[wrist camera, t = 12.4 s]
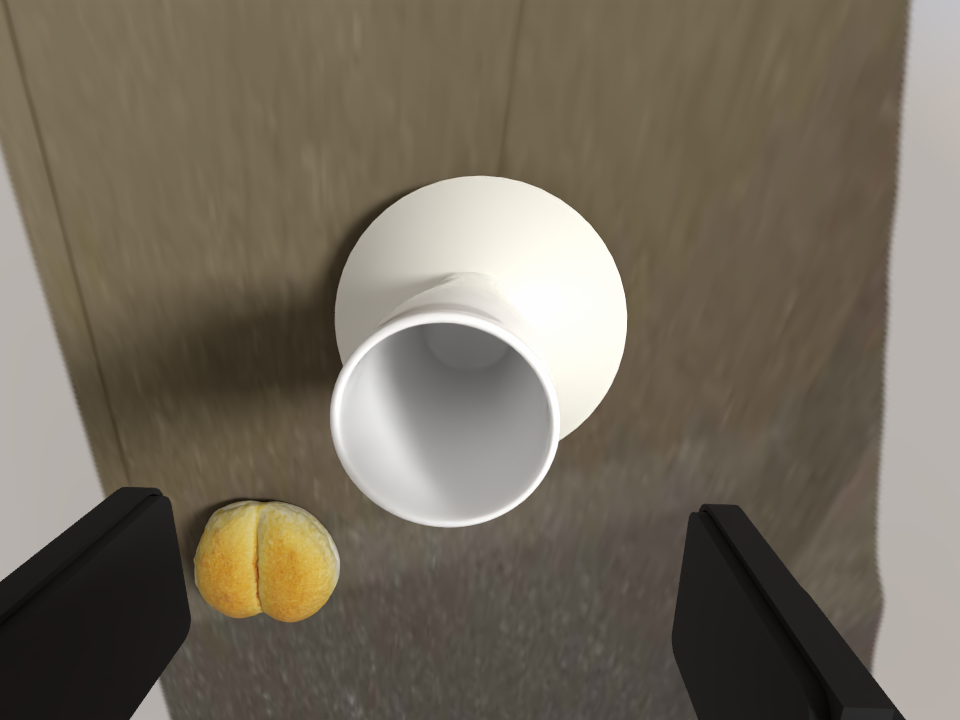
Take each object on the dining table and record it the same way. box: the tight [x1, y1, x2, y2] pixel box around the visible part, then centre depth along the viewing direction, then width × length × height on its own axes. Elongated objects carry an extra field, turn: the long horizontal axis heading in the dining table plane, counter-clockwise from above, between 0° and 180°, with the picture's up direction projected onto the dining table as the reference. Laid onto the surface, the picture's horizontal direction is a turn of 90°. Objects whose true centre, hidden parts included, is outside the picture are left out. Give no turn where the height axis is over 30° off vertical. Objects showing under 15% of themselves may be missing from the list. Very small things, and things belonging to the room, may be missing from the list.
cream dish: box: [335, 176, 627, 440], centre depth 31 cm, size 16×16×2 cm
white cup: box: [330, 272, 560, 527], centre depth 23 cm, size 7×7×15 cm
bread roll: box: [194, 500, 340, 622], centre depth 35 cm, size 8×9×4 cm
